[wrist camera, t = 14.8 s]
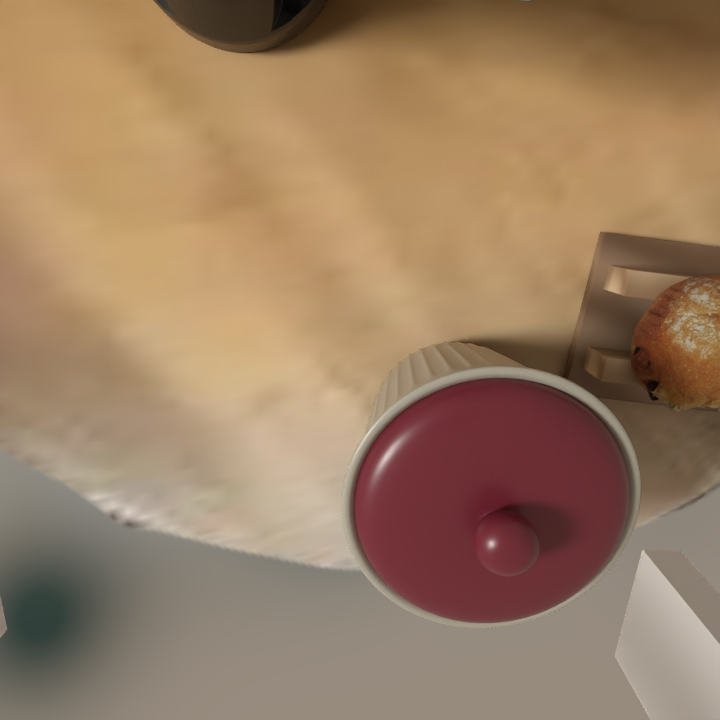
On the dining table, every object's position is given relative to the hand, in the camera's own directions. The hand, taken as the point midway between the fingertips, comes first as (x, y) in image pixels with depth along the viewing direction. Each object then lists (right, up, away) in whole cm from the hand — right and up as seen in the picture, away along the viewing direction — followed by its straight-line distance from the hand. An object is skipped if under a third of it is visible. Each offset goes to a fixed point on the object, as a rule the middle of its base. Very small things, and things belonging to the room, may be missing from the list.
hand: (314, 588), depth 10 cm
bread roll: (+27, +6, +30) cm, 40 cm away
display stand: (+27, +8, +34) cm, 44 cm away
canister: (+9, 0, +36) cm, 37 cm away
